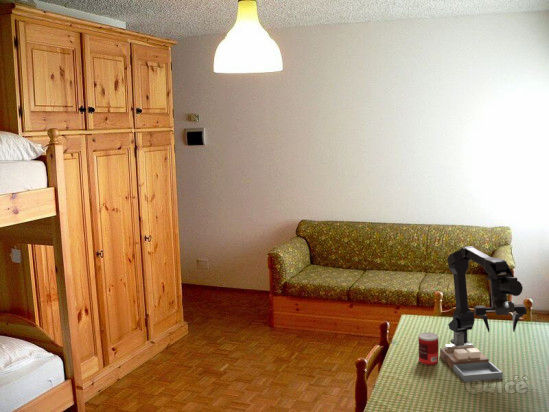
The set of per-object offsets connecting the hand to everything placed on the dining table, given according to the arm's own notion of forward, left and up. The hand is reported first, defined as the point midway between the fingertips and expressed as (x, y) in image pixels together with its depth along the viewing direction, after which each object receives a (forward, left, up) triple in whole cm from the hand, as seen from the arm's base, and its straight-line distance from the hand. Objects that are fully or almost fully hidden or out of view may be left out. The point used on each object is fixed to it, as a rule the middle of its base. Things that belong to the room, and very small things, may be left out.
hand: (501, 331), depth 227 cm
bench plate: (-7, -12, -14) cm, 20 cm away
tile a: (-4, -15, -11) cm, 18 cm away
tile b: (-4, -10, -11) cm, 15 cm away
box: (+5, -12, -14) cm, 19 cm away
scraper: (-11, -12, -11) cm, 19 cm away
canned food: (-9, -26, -14) cm, 31 cm away
